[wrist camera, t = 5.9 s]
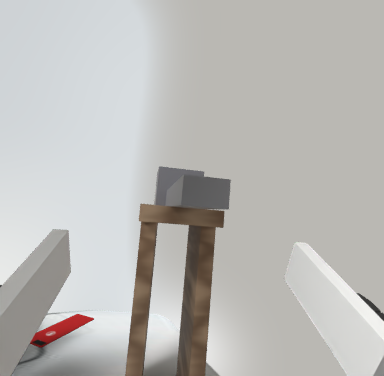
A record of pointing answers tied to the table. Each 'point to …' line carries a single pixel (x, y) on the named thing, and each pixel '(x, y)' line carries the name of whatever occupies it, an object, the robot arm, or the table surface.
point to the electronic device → (59, 330)
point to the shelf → (193, 286)
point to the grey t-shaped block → (190, 189)
